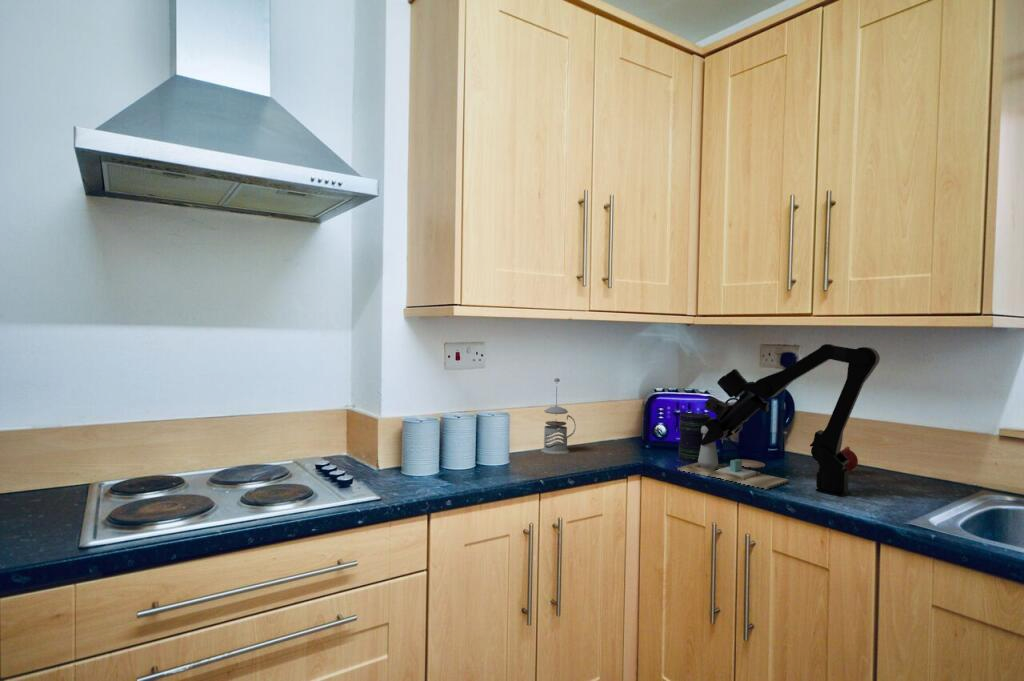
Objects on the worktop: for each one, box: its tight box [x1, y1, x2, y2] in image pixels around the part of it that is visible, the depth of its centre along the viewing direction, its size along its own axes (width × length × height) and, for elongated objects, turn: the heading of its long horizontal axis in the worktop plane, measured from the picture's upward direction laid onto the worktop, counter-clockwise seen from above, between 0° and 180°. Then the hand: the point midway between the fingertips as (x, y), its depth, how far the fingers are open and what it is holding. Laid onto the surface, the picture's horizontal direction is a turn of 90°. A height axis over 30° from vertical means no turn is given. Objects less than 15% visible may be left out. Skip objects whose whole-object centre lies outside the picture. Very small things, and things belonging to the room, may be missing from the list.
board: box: [677, 463, 789, 490], centre depth 168 cm, size 27×13×2 cm, turn 42°
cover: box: [715, 458, 757, 478], centre depth 166 cm, size 8×8×4 cm
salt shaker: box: [698, 426, 719, 471], centre depth 173 cm, size 6×6×13 cm
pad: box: [741, 459, 766, 469], centre depth 184 cm, size 10×10×1 cm
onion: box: [840, 445, 859, 473], centre depth 175 cm, size 6×6×8 cm
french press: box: [540, 377, 577, 455], centre depth 198 cm, size 10×12×25 cm
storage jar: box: [678, 412, 712, 464], centre depth 187 cm, size 10×10×15 cm
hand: (703, 443), depth 174 cm, fingers closed on salt shaker, 4 cm apart
